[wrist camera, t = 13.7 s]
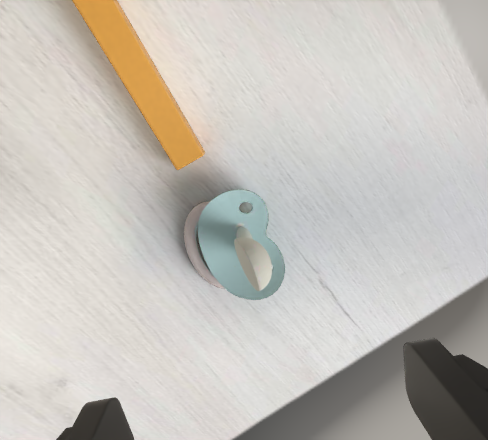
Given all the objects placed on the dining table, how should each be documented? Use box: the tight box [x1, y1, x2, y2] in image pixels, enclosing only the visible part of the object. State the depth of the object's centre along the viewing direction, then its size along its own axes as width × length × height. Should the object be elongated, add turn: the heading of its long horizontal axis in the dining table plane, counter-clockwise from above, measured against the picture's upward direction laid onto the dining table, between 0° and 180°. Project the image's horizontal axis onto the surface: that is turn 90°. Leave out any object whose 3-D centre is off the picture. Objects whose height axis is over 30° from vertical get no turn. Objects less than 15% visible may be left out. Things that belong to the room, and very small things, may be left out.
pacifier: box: [184, 189, 285, 300], centre depth 19 cm, size 7×6×6 cm
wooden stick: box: [72, 0, 205, 170], centre depth 18 cm, size 12×2×2 cm, turn 29°
